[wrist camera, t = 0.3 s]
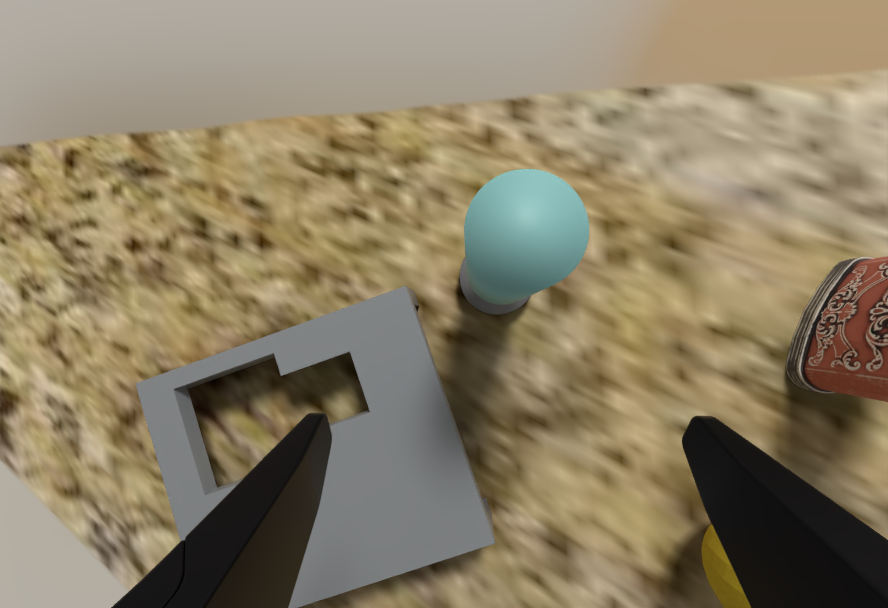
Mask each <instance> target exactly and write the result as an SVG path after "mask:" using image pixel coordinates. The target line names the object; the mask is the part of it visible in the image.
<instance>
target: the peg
mask: <svg viewBox="0 0 888 608" xmlns="http://www.w3.org/2000/svg"><path fill="white" fill-rule="evenodd" d="M464 235H465V255H466V257H465V258H464V260H463V263H462V265H461V269H460V284H461V288H462V291H463V294H464V296H465V297H466V299H467V300H468V302H469V303H470V304H471V305H472V306H474V307H475V308H476V309H478V310H480V311H482V312H484V313H488V314H494V315H500V314H505V313H509V312H512V311H514V310H516V309H518V308H520V307H521V306H522V305H523V304H524V303H525V302H526V301H527V300H528V299H529V297H530V296H531V295H532V294H535V293H537V292H539V291H541V290H543V289H545V288H548V287H550V286H552V285H554V284H556V283H558V282H559V281H561V280H563V279H564V278H565V277H566V276H568V275H569V274H570V273H571V272H572V271H573V270H574V269H575V268H576V266H577V265H578V263H579V262H580V260H581V259H582V257H583V255H584V252H585V250H586V247H587V243H588V237H589V222H588V216H587V213H586V209H585V207H584V205H583V202H582V200H581V199H580V197H579V196H578V194H577V193H576V192H575V191H574V189H573V188H572V187H571V186H570V185H568V184H567V183H566V182H565V181H563V180H562V179H560V178H559V177H557V176H555V175H553V174H551V173H548V172H545V171H541V170H535V169H519V170H513V171H509V172H506V173H503V174H501V175H499V176H497V177H495V178H494V179H492V180H490V181H489V182H488V183H487V184H485V185H484V186H483V187H482V188H481V189H480V190H479V191H478V193H477V194H476V195H475V197H474V198H473V200H472V202H471V204H470V206H469V209H468V211H467V215H466V219H465V226H464Z"/></svg>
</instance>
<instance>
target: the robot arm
mask: <svg viewBox="0 0 888 608" xmlns="http://www.w3.org/2000/svg"><path fill="white" fill-rule="evenodd" d="M331 444H332V433H331V429H330V425H329V422H328V418H327V415H326V414H325V413H309V414H307V415H306V416H305V417H304V418H303V419H302V420H301V421H300V422H299V423H298V424H297V425H296V426H295V427H294V428H293V429H292V430H291V431H290V432H289V433H288V434H287V435H286V436H285V437H284V438H283V439H282V440H281V441H280V442H279V443H278V444H277V445H276V446H275V447H274V448H273V449H272V450H271V451H270V452H269V453H268V454H267V455H266V456H265V457H264V458H263V459H262V460H261V461H260V462H259V463H258V464H257V465H256V466H255V467H254V468H253V469H252V470H251V471H250V472H249V473H248V474H247V475H246V476H245V477H244V478H243V479H242V480H241V481H240V482H239V483H238V485H237V486H236V487H235V488H234V489H233V490H232V491H231V492H230V493H229V494H228V495H227V496H226V497H225V498H224V499H223V500H222V501H221V502H220V503H219V504H218V505H217V506H216V507H215V508H214V509H213V510H212V511H211V512H210V513H209V514H208V515H207V516H206V517H205V518H204V519H203V520H202V521H201V522H200V523H199V524H198V525H197V526H196V527H195V528H194V529H193V530H192V531H191V532H190V533H189V534H188V535H187V536H186V537H185V540H182V541H181V542H180V543H179V544H178V545H177V546H176V547H175V548H174V549H173V550H172V551H171V552H170V553H169V554H168V555H167V556H166V557H165V558H164V559H163V560H162V561H161V562H160V563H159V564H157V565H156V566H155V567H154V568H153V569H152V570H151V571H150V572H149V573H148V574H147V575H146V576H145V577H144V578H143V579H142V580H141V581H140V582H139V583H138V584H137V585H136V586H135V587H133V588H132V589H131V590H130V591H129V592H128V593H127V594H126V595H125V596H124V597H122V598H121V599H120V600H119V601H118V602H117V603H116V604H115V605H114V606H113V607H111V608H288V607H289V604H290V601H291V598H292V594H293V591H294V588H295V585H296V581H297V578H298V575H299V572H300V568H301V565H302V562H303V558H304V555H305V552H306V549H307V545H308V542H309V539H310V536H311V532H312V529H313V526H314V522H315V519H316V516H317V512H318V509H319V505H320V501H321V496H322V491H323V486H324V481H325V476H326V470H327V465H328V460H329V455H330V450H331ZM682 445H683V449H684V452H685V455H686V458H687V460H688V463H689V466H690V469H691V472H692V474H693V477H694V480H695V483H696V486H697V489H698V491H699V494H700V497H701V500H702V502H703V505H704V507H705V510H706V512H707V514H708V517H709V519H710V521H711V523H712V525H713V528H714V530H715V532H716V534H717V536H718V538H719V540H720V542H721V545H722V547H723V549H724V551H725V553H726V555H727V557H728V560H729V562H730V564H731V566H732V568H733V570H734V572H735V574H736V577H737V579H738V581H739V583H740V585H741V587H742V589H743V591H744V594H745V596H746V598H747V600H748V602H749V604H750V606H751V608H888V540H887V539H886V538H884V537H883V536H882V535H880V534H879V533H877V532H876V531H874V530H873V529H872V528H870V527H869V526H867V525H866V524H865V523H863V522H862V521H860V520H859V519H858V518H856V517H855V516H853V515H852V514H851V513H849V512H848V511H846V510H845V509H843V508H842V507H841V506H839V505H838V504H836V503H835V502H834V501H832V500H831V499H829V498H828V497H827V496H825V495H824V494H822V493H821V492H820V491H818V490H817V489H815V488H814V487H812V486H811V485H810V484H808V483H807V482H805V481H804V480H803V479H801V478H800V477H798V476H797V475H796V474H794V473H793V472H791V471H790V470H788V469H787V468H786V467H784V466H783V465H781V464H780V463H779V462H777V461H776V460H774V459H773V458H772V457H770V456H769V455H767V454H766V453H765V452H763V451H762V450H760V449H759V448H757V447H756V446H755V445H753V444H752V443H750V442H749V441H748V440H746V439H745V438H743V437H742V436H741V435H739V434H738V433H736V432H735V431H734V430H732V429H731V428H729V427H728V426H726V425H725V424H724V423H722V422H721V421H719V420H718V419H716V418H715V417H712V416H695V417H693V418H692V419H691V421H690V423H689V425H688V427H687V429H686V431H685V433H684V435H683V437H682Z"/></svg>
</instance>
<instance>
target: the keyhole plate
mask: <svg viewBox="0 0 888 608" xmlns="http://www.w3.org/2000/svg"><path fill="white" fill-rule="evenodd" d="M418 306H419V304H418V301H417V299H416V296H415V293H414V291H413V290H412V289H410V288H408V287H407V286H404V287H401V288H398V289H396V290H393V291H390V292H387V293H385V294H382V295H379V296H376V297H374V298H371V299H368V300H365V301H363V302H360V303H357V304H354V305H351V306H349V307H346V308H343V309H340V310H338V311H335V312H332V313H329V314H327V315H324V316H321V317H318V318H316V319H313V320H310V321H307V322H304V323H302V324H299V325H296V326H293V327H291V328H288V329H285V330H282V331H280V332H277V333H274V334H271V335H269V336H266V337H263V338H260V339H257V340H255V341H252V342H249V343H246V344H244V345H241V346H238V347H235V348H233V349H230V350H227V351H224V352H222V353H219V354H216V355H213V356H210V357H208V358H205V359H202V360H199V361H197V362H194V363H191V364H188V365H186V366H183V367H180V368H177V369H175V370H172V371H169V372H166V373H163V374H161V375H158V376H155V377H152V378H150V379H147V380H144V381H141V382H139V383H136V387H137V391H138V394H139V397H140V401H141V404H142V408H143V411H144V415H145V418H146V422H147V425H148V429H149V432H150V436H151V439H152V443H153V446H154V450H155V453H156V457H157V460H158V463H159V467H160V470H161V474H162V477H163V481H164V484H165V488H166V491H167V495H168V498H169V502H170V505H171V509H172V512H173V516H174V519H175V522H176V526H177V529H178V533H179V536H180V540H181V541H182V540H185V537H186V536H187V535H188V534H189V533H190V532H191V531H192V530H193V529H194V528H195V527H196V526H197V525H198V524H199V523H200V522H201V521H202V520H203V519H204V518H205V517H206V516H207V515H208V514H209V513H210V512H211V511H212V510H213V509H214V508H215V507H216V506H217V505H218V504H219V503H220V502H221V501H222V500H223V499H224V498H225V497H226V496H227V495H228V494H229V493H230V492H231V491H232V490H233V489H234V488H235V487H236V486H237V485H238V483H239V482H240V481H241V480H242V479H240V480H238V481H235V482H232V483H229V484H226V485H223V486H220V487H217V486H216V482H215V479H214V475H213V472H212V469H211V465H210V462H209V459H208V455H207V452H206V449H205V445H204V442H203V439H202V435H201V432H200V428H199V425H198V422H197V418H196V415H195V412H194V408H193V405H192V402H191V398H190V395H189V392H188V389H189V388H192V387H195V386H198V385H200V384H203V383H206V382H209V381H212V380H214V379H217V378H220V377H223V376H226V375H228V374H231V373H234V372H237V371H239V370H242V369H245V368H248V367H251V366H253V365H256V364H259V363H262V362H265V361H267V360H270V359H273V358H276V362H277V365H278V368H279V371H280V374H281V376H282V375H286V374H289V373H292V372H295V371H298V370H301V369H304V368H306V367H309V366H312V365H315V364H318V363H320V362H323V361H326V360H329V359H332V358H334V357H337V356H340V355H343V354H346V353H349V352H350V353H351V356H352V359H353V362H354V365H355V369H356V372H357V375H358V378H359V381H360V384H361V387H362V390H363V393H364V396H365V399H366V402H367V405H368V408H369V410H368V411H365V412H362V413H359V414H356V415H353V416H351V417H348V418H345V419H342V420H339V421H336V422H333V423H330V424H329V425H330V429H331V433H332V444H331V450H330V455H329V460H328V465H327V470H326V476H325V481H324V486H323V491H322V496H321V501H320V505H319V509H318V512H317V516H316V519H315V522H314V526H313V529H312V532H311V536H310V539H309V542H308V545H307V549H306V552H305V555H304V558H303V562H302V565H301V568H300V572H299V575H298V578H297V581H296V585H295V588H294V591H293V594H292V598H291V601H290V604H289V607H288V608H298V607H301V606H304V605H308V604H311V603H314V602H317V601H320V600H323V599H326V598H329V597H332V596H335V595H338V594H341V593H344V592H347V591H350V590H354V589H357V588H360V587H363V586H366V585H369V584H372V583H375V582H378V581H381V580H384V579H387V578H390V577H393V576H396V575H400V574H403V573H406V572H409V571H412V570H415V569H418V568H421V567H424V566H427V565H430V564H433V563H436V562H439V561H442V560H446V559H449V558H452V557H455V556H458V555H461V554H464V553H467V552H470V551H473V550H476V549H479V548H482V547H485V546H488V545H492V544H495V538H494V529H493V521H492V513H491V511H490V508H489V505H488V502H487V499H486V497H485V498H482V497H481V494H480V491H479V488H478V485H477V483H476V480H475V477H474V474H473V471H472V468H471V465H470V462H469V460H468V457H467V454H466V451H465V448H464V445H463V442H462V439H461V437H460V434H459V431H458V428H457V425H456V422H455V419H454V417H453V414H452V411H451V408H450V405H449V402H448V399H447V396H446V394H445V391H444V388H443V385H442V382H441V379H440V376H439V373H438V371H437V368H436V365H435V362H434V359H433V356H432V353H431V350H430V348H429V345H428V342H427V339H426V336H425V333H424V330H423V328H422V325H421V322H420V319H419V316H418V313H417V310H416V307H418Z"/></svg>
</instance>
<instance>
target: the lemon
mask: <svg viewBox="0 0 888 608" xmlns="http://www.w3.org/2000/svg"><path fill="white" fill-rule="evenodd" d="M702 563H703V567H704V570H705V573H706V576H707V579H708V582H709V584H710V586H711V588H712V589H713V591H714V593H715V594H716V596H717V598H718V599H719V601H720V602H721V604H722V606H723V607H724V608H751V606H750V604H749V602H748V600H747V598H746V596H745V594H744V591H743V589H742V587H741V585H740V583H739V581H738V579H737V577H736V574H735V572H734V570H733V568H732V566H731V564H730V562H729V560H728V557H727V555H726V553H725V551H724V549H723V547H722V545H721V542H720V540H719V538H718V536H717V534H716V532H715V530H714V528H713V525H712V523H711V525H710V526H709V527H708V529H707V531H706V533H705V535H704V538H703V543H702Z"/></svg>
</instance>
